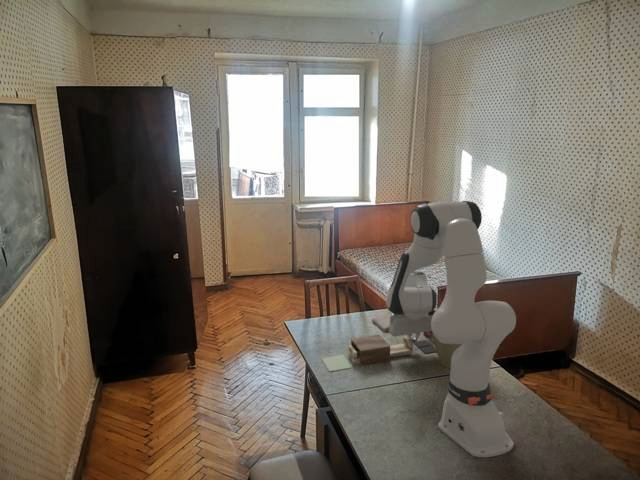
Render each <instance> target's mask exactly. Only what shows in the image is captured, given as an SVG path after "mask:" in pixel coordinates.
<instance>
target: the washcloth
mask: <svg viewBox="0 0 640 480" xmlns="http://www.w3.org/2000/svg"><path fill="white" fill-rule="evenodd" d="M391 315H393V313H391V314H384V315H380V316H375V317H374V318H372V320H371V321H372V322H373V324H374V325H376V326H377V327H378V328H379V330H381V331H382V332H384V333H385V332H389V325H390V316H391ZM393 316H394V315H393Z"/></svg>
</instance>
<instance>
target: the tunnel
mask: <svg viewBox="0 0 640 480" xmlns="http://www.w3.org/2000/svg"><path fill="white" fill-rule="evenodd" d="M350 345H352V347H353V348H354V349H355V350H356V351H360V363H359V366H360V367H365V366H366V367H367V366H372V365H373V366H374V365H377V364H383V363H389V362H391V357H390V346H391V345H390V344H389V343H388V342H387V341H386V340H385V339H384V338H383V336H381V335H380V334H375V335H368V336H363V337H362V336H361V337H356V338H351V339H350Z"/></svg>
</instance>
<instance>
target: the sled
mask: <svg viewBox="0 0 640 480" xmlns="http://www.w3.org/2000/svg"><path fill="white" fill-rule="evenodd" d="M402 338H403V339H402V343H397V344H392V345H390V358H394V357H401V356H407V355H412V354H413V353H414V351H413V350H414V343H413V342H412V341H410V340H409V338H408V336H407V335H404V336H402ZM347 355H348V358H349V359H350V360H351V362H352V363H353V364H360V351H356V350H355V349H354V348H353V347H352V345H351V344H350V345H348V351H347Z"/></svg>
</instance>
